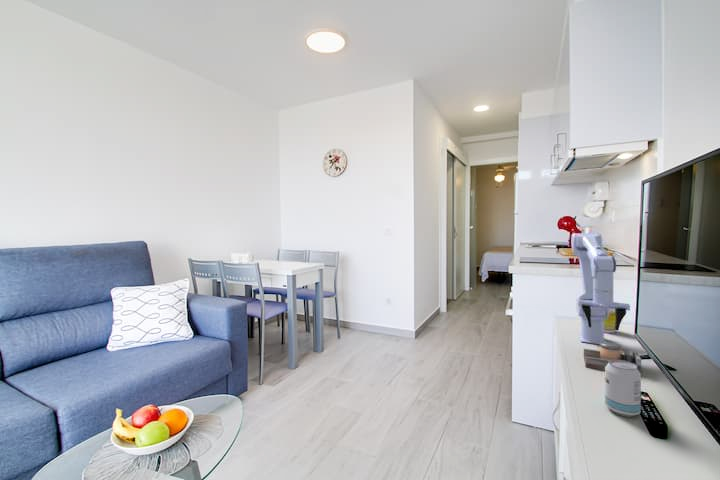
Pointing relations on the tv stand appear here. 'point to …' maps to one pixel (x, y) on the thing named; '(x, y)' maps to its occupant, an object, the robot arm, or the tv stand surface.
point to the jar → (610, 350)
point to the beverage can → (623, 388)
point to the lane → (595, 362)
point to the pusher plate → (627, 355)
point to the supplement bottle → (610, 322)
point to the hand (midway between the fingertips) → (603, 328)
